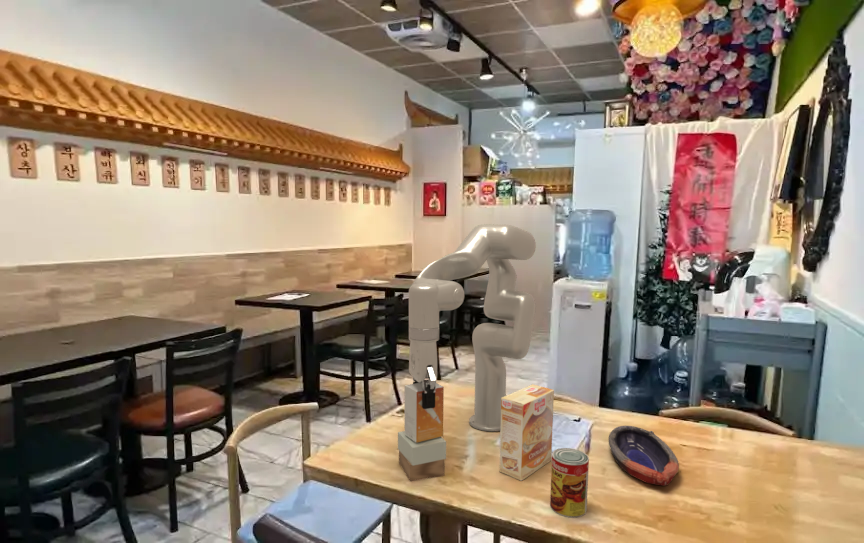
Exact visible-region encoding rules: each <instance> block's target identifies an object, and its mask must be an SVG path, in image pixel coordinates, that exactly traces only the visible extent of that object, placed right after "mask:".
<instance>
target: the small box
mask: <svg viewBox="0 0 864 543" xmlns="http://www.w3.org/2000/svg"><path fill="white" fill-rule="evenodd" d="M428 384H429V383H426V387H427V385H428ZM403 387H404V388H403V389H404V431H405V435H406V436H407V437H409V438H410V439H412V440H413V441H414V442H416V443H418V442H421V441H425V440H429V439H433V438H438V437H442V438H443V437H444V398H445V396H444V391H445V390H444V386H443V385H440V384H438V383H437V382H436V386H435V387H436V388H435V390H436V392H435V408H429V409H423V408H422V393H423V392H424V391H423V384H422V382H420V383H415V384H413V383H411V384H405V385H404V386H403Z"/></svg>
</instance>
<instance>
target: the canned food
mask: <svg viewBox="0 0 864 543" xmlns="http://www.w3.org/2000/svg"><path fill="white" fill-rule="evenodd" d="M589 463H590V458H589V455H588V454H586V453H585V452H584V451H582V450H580V449H576V448H571V447H561V448H557V449H554V450H553V451H552V455H551V466H550V467H551V468H550V470H551V473H550V474H551V475H550V496H549V500H550V501H549V502H550V503H549V505H550V508H551V510H552V512H554V513H555V514H557V515H559V516H563V517H566V518H580V517H583V516H584V515H585V514H587V508H588V491H589V490H588V486H589V468H590V467H589V466H590V465H589Z"/></svg>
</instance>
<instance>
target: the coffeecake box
mask: <svg viewBox="0 0 864 543" xmlns="http://www.w3.org/2000/svg"><path fill="white" fill-rule="evenodd" d="M554 394H555V390H554V389H551V388H549V387H545V386H540V385H536V384H533V383H532V384H531V385H527V386H525V387H523V388H521V389H517V390H516V391H514V392H511V393H509V394H506V396H504V397H502V398H501V427H500V431H499V432H500V436H499V438H500V439H499V468H498V469H499V471H498V472H499V473H502V474H504V475H507V476H509V477H511V478H513V479H516V480H519V481H524V480H525V479H526V478H528V477H530V476H531V475H532V474H534V473H535V472H536V471H538V470H539V469H541V468H543V466H545V465H547V464H548V463H550V462H552V452H553V451H552V449H553V448H552V447H553V425H554V423H553V421H554V402H555V401H554V400H555V399H554V397H555V395H554Z"/></svg>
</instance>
